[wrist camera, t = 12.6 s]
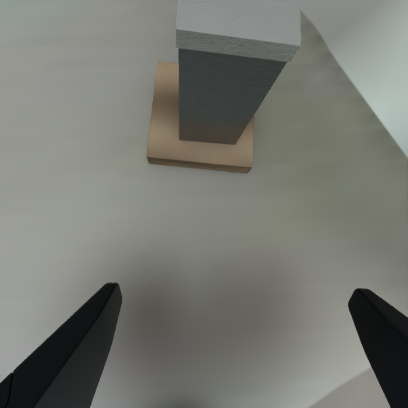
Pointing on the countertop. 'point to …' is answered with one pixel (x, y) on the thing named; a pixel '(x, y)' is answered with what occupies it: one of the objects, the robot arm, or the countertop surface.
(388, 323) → the robot arm
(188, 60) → the tall grey square pillar
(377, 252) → the countertop surface
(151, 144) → the block
